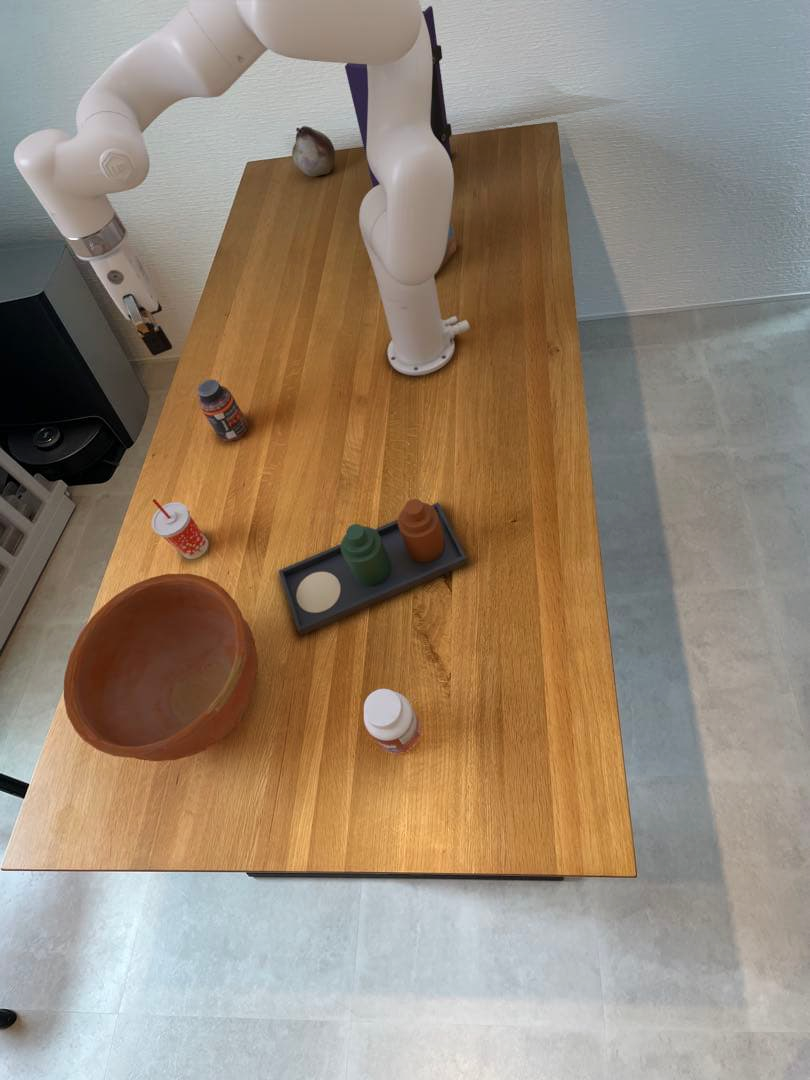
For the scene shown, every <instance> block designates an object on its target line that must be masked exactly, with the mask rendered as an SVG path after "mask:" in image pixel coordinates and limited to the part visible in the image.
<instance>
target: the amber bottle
mask: <svg viewBox="0 0 810 1080" xmlns="http://www.w3.org/2000/svg"><path fill="white" fill-rule="evenodd" d="M431 505H432V504H429V503H426V502H422V500H420V499H417V498H412V499H409V500H408V501H406V503H405V505H404V508H403V509H402V510H401V511H400V513H399V514H398V518H397V520H398V527H399V529H400V532H401V535H402V538H403V540H404V543H405V546H406V549H407V551H408V554H409V555H410V557H411V558H412V559H414V560H415V561H418V562H423V563H426V562H431V561H434V560H436V559H437V558H439V557H440V556H441V554H442V553H443V551H444V549H445V539H444V536H443V532H442V528H441V524H440V520H439V517H438V513H437V511H436V510H435V508H434V507H432V506H431Z"/></svg>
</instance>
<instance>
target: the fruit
mask: <svg viewBox="0 0 810 1080" xmlns="http://www.w3.org/2000/svg"><path fill="white" fill-rule="evenodd" d="M295 130H296V134H295V143H294V145H293V147H292V151H291V157H292V161H293V163H294V164H295V166H296V167H297V168H298V169H299V170H300V171H301V172H303V173H304V174H305V176H308V177H312V178H316V177H319V176H323V175H328V174H330V172H331V171H332V169H333V167H334V165H335V161H336V150H335V147H334V144H333V142H332V141H331V139H330V138H329V137H328V136H327V135H326V134H325V133H323V132H321V131H319V130H318V129H314V128H312V127H310V126H307V125H302V126H301V127H296V128H295Z"/></svg>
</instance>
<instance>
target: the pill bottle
mask: <svg viewBox="0 0 810 1080" xmlns="http://www.w3.org/2000/svg"><path fill="white" fill-rule="evenodd" d="M363 723H364V726H365V728H366V730H367V731H368V733H369V734H370V736H372V738H373V739H374V740H375V741H376V743H377V744H378V745H379V746H380V747H381V748H382V749H383V750H384V749H385V750H384V751H385V752H386V753H387V752H388V751H389V752H388V753H390V754H394V755H403V754H406V753H408V752H410V751H412V749H413V748H415V747H416V746H417V744H418V742H419V741H420V738H421V733H422V729H421V730H420V727H421V728H422V725H421V722H420V719H419V717H418V715H417V714H416V712H415V710H414V708H413V707H412V704H411V702H410V701H409V700H408V699H407V697H406V696H404V695H403V694H401V692H400V693H399V692H398V691H393V690H392V689H389V688H379V689H376V690H374V691H372V692H371V693H370V694H368V696H367V697H366V699H365V701H364V704H363ZM419 735H420V736H419ZM418 738H419V739H418ZM417 740H418V741H417ZM415 743H416V744H415ZM414 744H415V745H414ZM413 745H414V746H413ZM410 748H411V749H410ZM407 750H408V751H407ZM405 751H406V752H405ZM391 752H392V753H391ZM401 752H403V753H401Z"/></svg>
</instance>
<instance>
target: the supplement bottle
mask: <svg viewBox="0 0 810 1080" xmlns="http://www.w3.org/2000/svg"><path fill="white" fill-rule="evenodd" d="M196 389H197V390H196V392H197V394H198V397H199V398H198V405H199V408H200V410H201V412H202V413H203V415H204V416H205V418H206V420H207V421H208V423H209V424H210V425H211V426H210V427H212V429H213V430H214V432H215V434H216V435H217V437H218V438H219V439H220V440H221V441H224V442H233V441H236V440H238V439H241V437H243V436H244V435H245V434H246V432H247V430H248V421H247V419H246V417H245V416H244V413H243V412H242V410H241V409H240V406H239V405H238V403H237V401H236V399H235V397H234V396H233V394H232V392H231V390H229V388H227V387H226V386H223V385H221V384H220V382H219V381H217V379H214V378H213V379H207V380H204V381H203V382H201V383H200V384H199V385H198V386H197V388H196Z"/></svg>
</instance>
